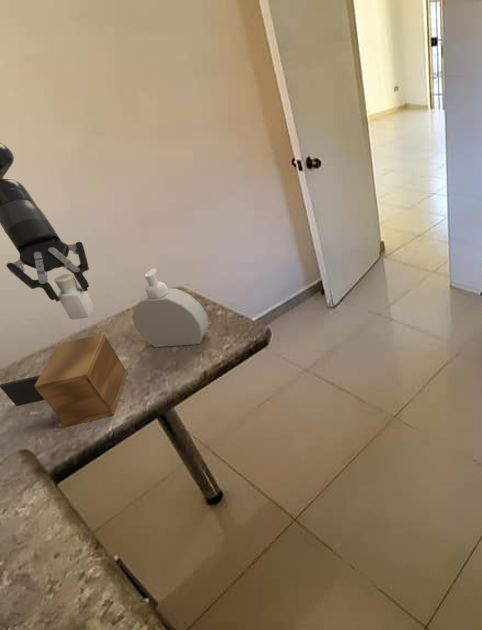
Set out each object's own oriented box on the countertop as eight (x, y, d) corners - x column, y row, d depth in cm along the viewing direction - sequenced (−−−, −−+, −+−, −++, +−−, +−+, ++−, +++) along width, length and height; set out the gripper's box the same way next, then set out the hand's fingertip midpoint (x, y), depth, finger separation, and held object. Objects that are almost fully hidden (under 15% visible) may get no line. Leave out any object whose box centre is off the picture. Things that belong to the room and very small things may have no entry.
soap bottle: (215, 331, 115) (188, 266, 104) (208, 344, 111) (179, 277, 99) (155, 335, 115) (121, 270, 104) (145, 348, 111) (109, 281, 99)
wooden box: (61, 428, 91) (27, 387, 84) (80, 383, 101) (52, 344, 94) (114, 415, 93) (86, 374, 86) (127, 372, 104) (103, 333, 97)
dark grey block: (10, 431, 89) (-19, 399, 83) (23, 407, 94) (-4, 376, 89) (63, 418, 91) (38, 386, 86) (73, 395, 96) (50, 364, 91)
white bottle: (90, 318, 96) (70, 280, 91) (69, 321, 95) (48, 283, 90) (96, 308, 99) (77, 272, 94) (76, 311, 98) (56, 274, 93)
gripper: (-21, 230, 85) (27, 303, 85) (63, 208, 93) (107, 274, 94) (-9, 247, 91) (36, 315, 91) (69, 224, 99) (110, 287, 100)
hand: (71, 294), depth 92 cm, fingers closed on white bottle, 4 cm apart
